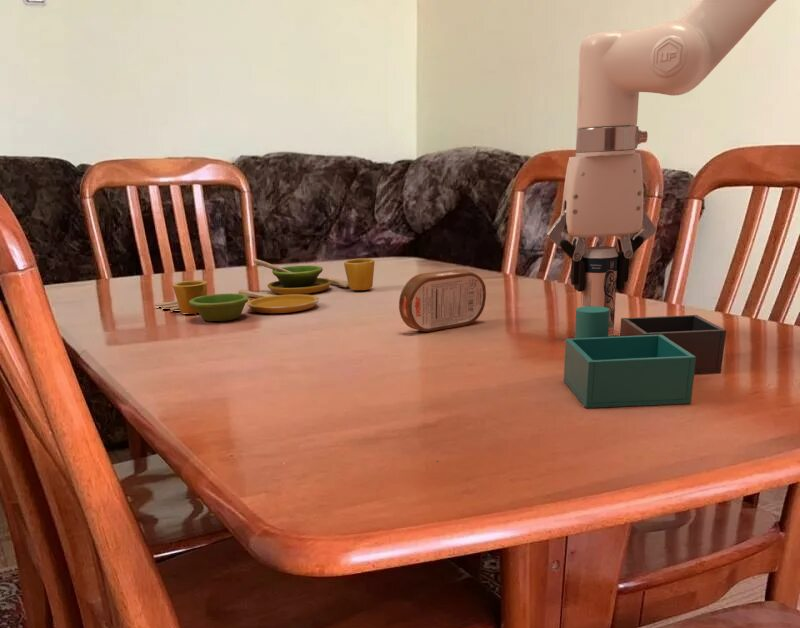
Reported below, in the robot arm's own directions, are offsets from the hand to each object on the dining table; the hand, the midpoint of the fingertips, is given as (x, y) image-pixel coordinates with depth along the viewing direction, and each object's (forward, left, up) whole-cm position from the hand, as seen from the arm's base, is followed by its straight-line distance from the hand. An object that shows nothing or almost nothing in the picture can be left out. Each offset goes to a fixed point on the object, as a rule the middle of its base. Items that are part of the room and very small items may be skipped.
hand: (598, 287), depth 114 cm
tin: (+20, -12, -7) cm, 25 cm away
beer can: (0, 0, -7) cm, 7 cm away
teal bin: (+3, +27, -7) cm, 28 cm away
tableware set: (+49, -43, -7) cm, 66 cm away
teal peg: (+4, +15, -7) cm, 17 cm away
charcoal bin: (-5, +16, -7) cm, 18 cm away
